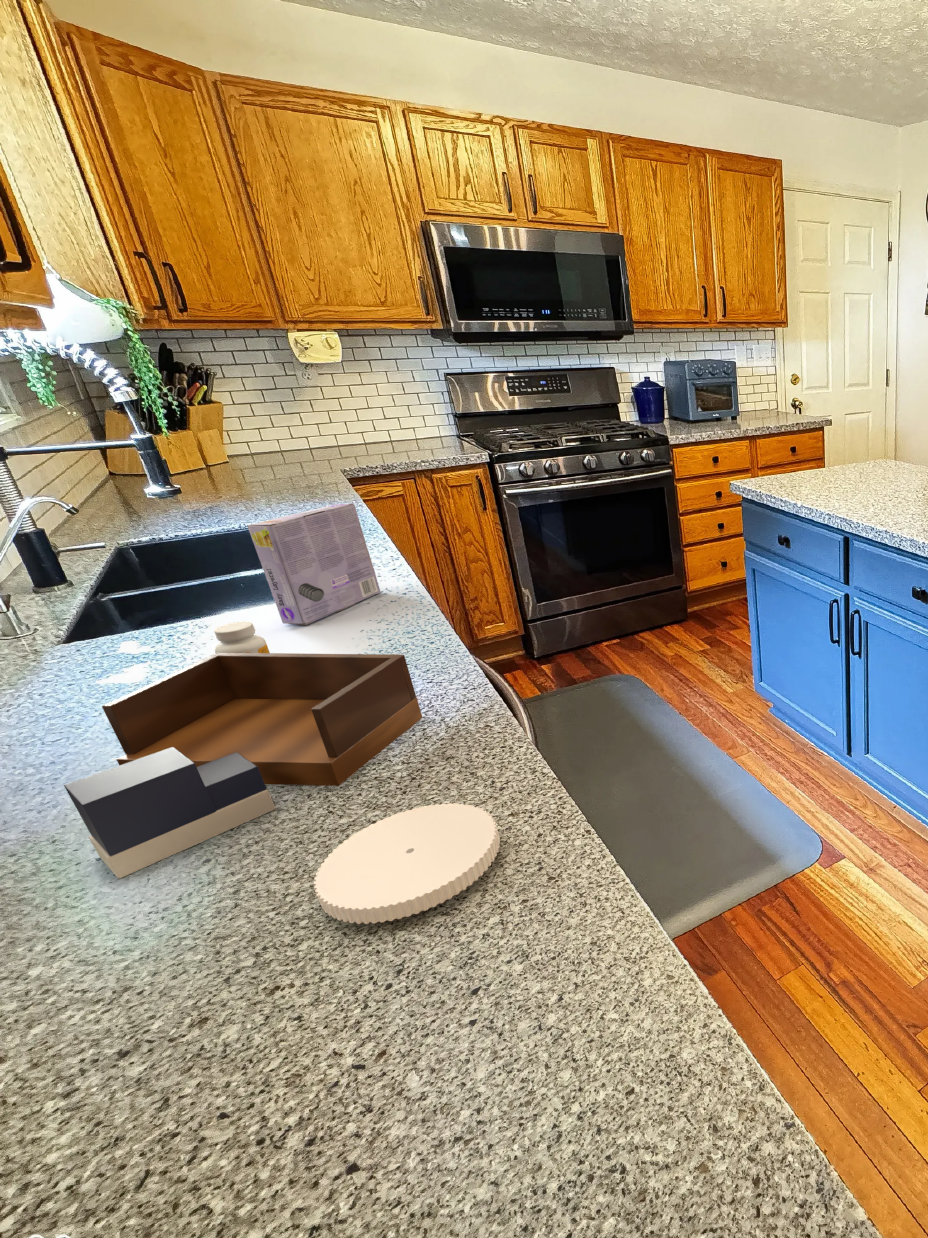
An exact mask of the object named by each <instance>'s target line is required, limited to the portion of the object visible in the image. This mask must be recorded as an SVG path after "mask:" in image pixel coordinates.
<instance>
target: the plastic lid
mask: <svg viewBox="0 0 928 1238" xmlns="http://www.w3.org/2000/svg"><path fill="white" fill-rule="evenodd" d="M500 840H501V838H500V835H499V830H498V826H497V823H496V821H495V818H494V816H493V815H491V813H490V812H487V810H484V808H480V806H475V805H473V804H472V805H470V804H464V803H457V802H455V803H452V802H448V803H447V804H446V803H441V804H439V803H436V804H433V805H432V804H429V805H427V806H424V805H423V806H420V807H414V808H413V809H407V810H405V811H400V812H398V813H397V814H392V815H390V816H386V817H384V818H383V819H381V820H377V821H376V822H374V823H371V824H369V825H368V826H367V827H363V828H362V829H361V830H360V831H357V832H355V834H353V835H350V836H349V837H348V838H347V839H345V840H343V841H342V843H340V844H338V845H337V847H336V848H334V849H332V850H331V851H332V852H331V853H329V854H327V857H325V858H324V859H323V862H321V863H320V867H318V868H317V872H316V873H315V877H314V878H313V880H314V881H313V888H314V892H315V895H316V897H317V899H318V902H319V904H320V907H321V908H322V910H323V911H324V913H325V914H327V915H328V916H329V917H332V919H337V921H340V922H341V921H342V922H343V923H347V922H349V924H353V923H356V924H357V925H360V924H362V923H363V924H364V925H369V923H371V924H377V923H379V922H380V923H382V924H383V923H385V922H386V921H388V922H392V921H394V920H396V919H397V920H402V918H405V917H406V918H409V917H411V916H412V915H414V914H415V915H417V914H420V912H426V911H428V910H429V909H430V908H435V907H437V905H439V904H444V903H445V902H446V900H451V899H452V898H453V897H454V896H457V895H459V894H460V893H461V892H462V891H466V890H467V887H469V886H472V885H473V884H474V882H477V881H478V880H479V878H480V877H482V876H484V872H487V871H488V870H489V868H488V867H491V866H492V863H493V862H494V861H495V858H496V857H497V855H498V854H497V853H499V849H500V847H501V846H500V844H501V841H500Z"/></svg>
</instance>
